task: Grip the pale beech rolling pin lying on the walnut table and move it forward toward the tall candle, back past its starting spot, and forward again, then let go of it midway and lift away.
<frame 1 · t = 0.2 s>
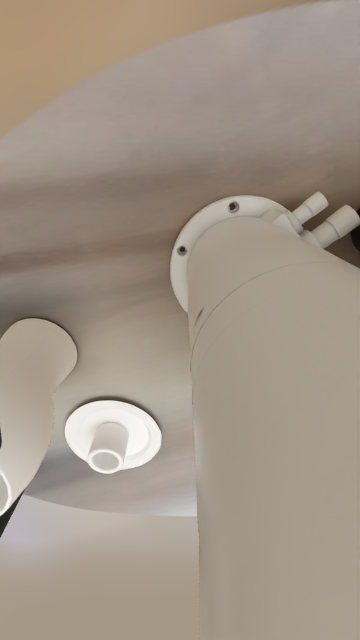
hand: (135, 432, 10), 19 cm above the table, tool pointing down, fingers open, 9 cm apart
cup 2: (42, 349, 31), on the table
candle holder: (114, 431, 37), on the table
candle: (15, 455, 39), on the table
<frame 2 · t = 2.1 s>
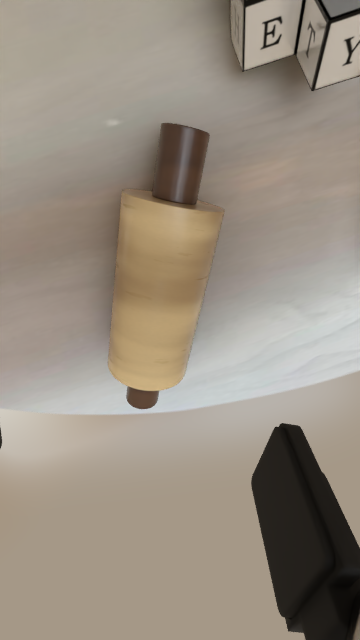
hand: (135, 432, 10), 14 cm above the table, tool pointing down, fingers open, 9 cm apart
rolling pin: (162, 278, 22), on the table
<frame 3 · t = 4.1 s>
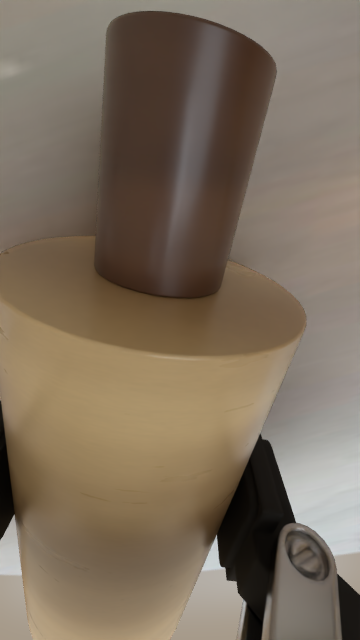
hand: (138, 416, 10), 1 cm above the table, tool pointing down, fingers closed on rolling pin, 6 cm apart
rolling pin: (145, 396, 11), on the table, touching gripper
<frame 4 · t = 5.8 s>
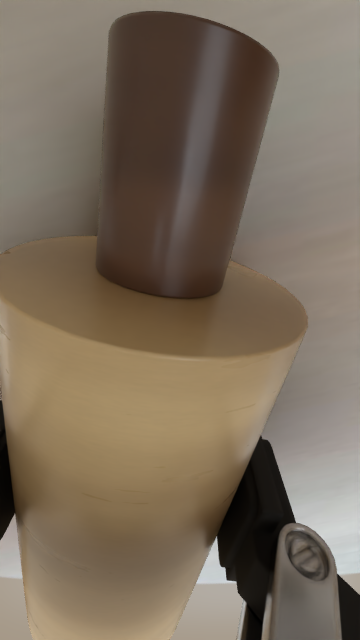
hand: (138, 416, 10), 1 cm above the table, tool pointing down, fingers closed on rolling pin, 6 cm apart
rolling pin: (146, 396, 11), on the table, touching gripper
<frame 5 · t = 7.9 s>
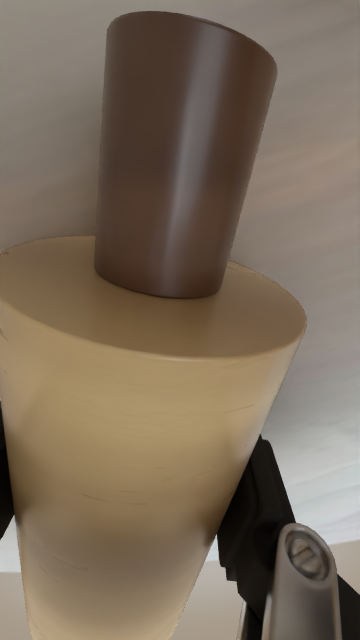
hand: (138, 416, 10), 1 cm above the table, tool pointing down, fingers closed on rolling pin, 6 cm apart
rolling pin: (145, 396, 11), on the table, touching gripper
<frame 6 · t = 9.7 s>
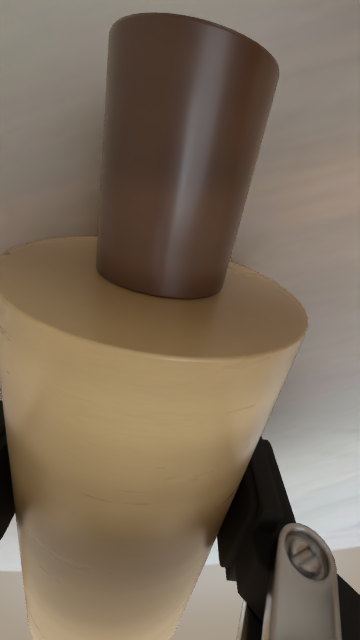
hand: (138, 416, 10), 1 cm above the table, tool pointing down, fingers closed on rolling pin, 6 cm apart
rolling pin: (146, 396, 11), on the table, touching gripper
when the fingers open (1 cm above the table, at t = 10.8 s): rolling pin stays where it is, on the table.
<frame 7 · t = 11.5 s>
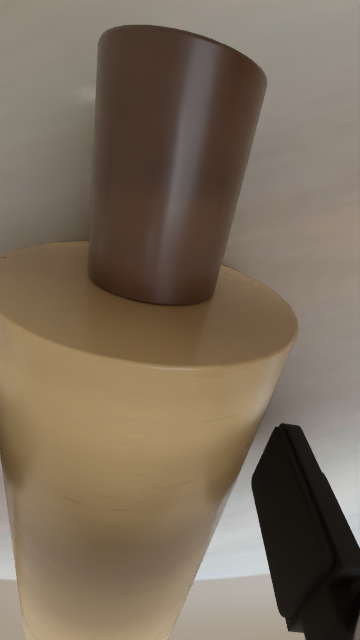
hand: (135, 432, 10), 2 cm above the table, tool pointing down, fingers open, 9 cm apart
rolling pin: (146, 400, 11), on the table, tilted 6°
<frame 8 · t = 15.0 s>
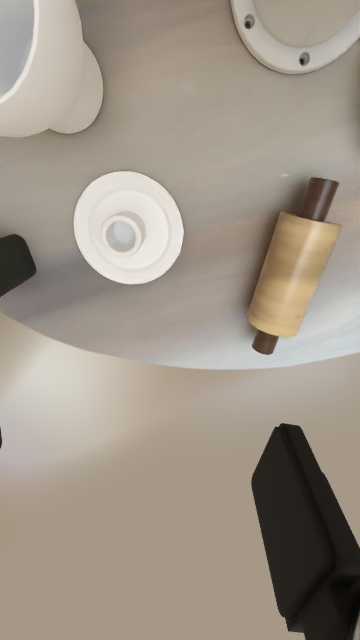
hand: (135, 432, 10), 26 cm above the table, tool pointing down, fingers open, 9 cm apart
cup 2: (62, 84, 27), on the table
candle holder: (129, 231, 32), on the table
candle: (11, 257, 34), on the table
rolling pin: (279, 267, 34), on the table, tilted 5°
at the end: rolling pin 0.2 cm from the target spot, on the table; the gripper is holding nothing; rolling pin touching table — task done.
